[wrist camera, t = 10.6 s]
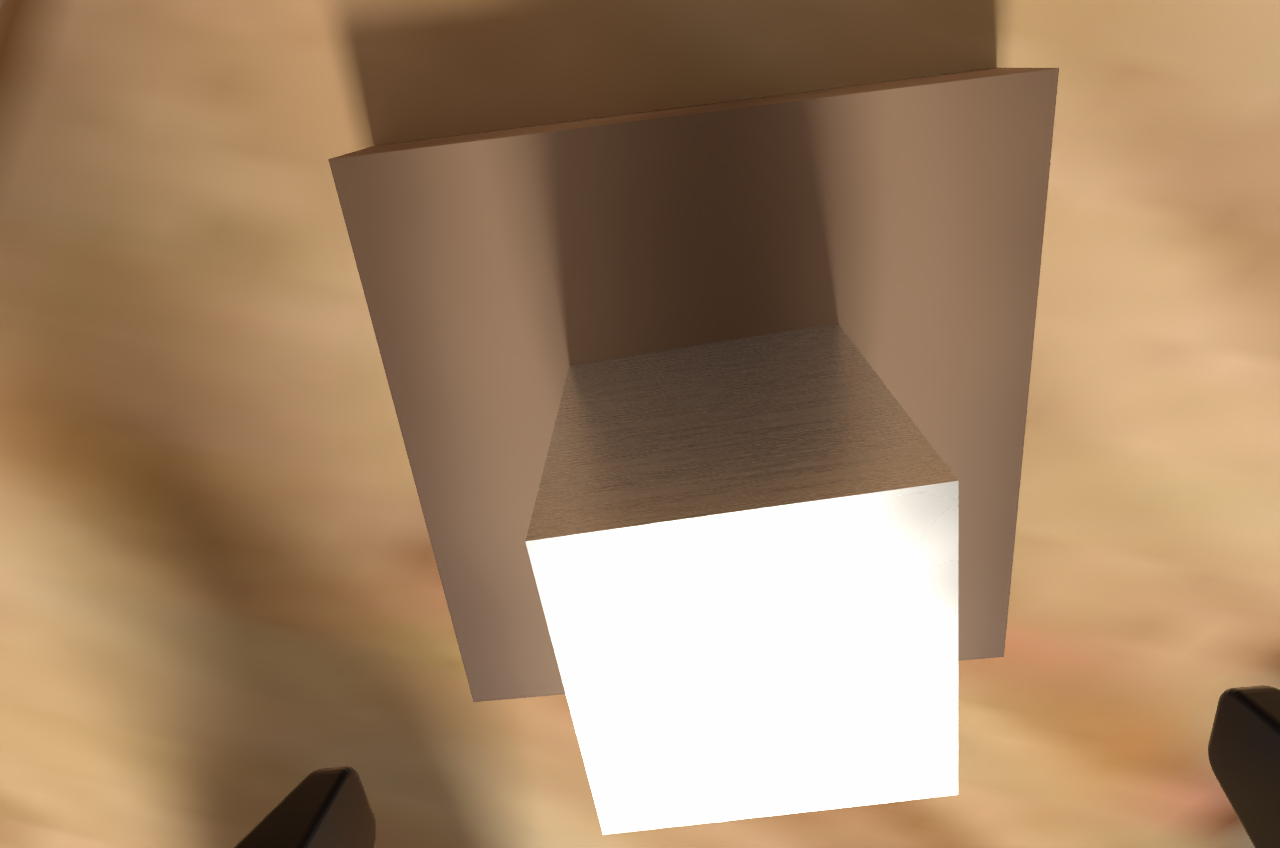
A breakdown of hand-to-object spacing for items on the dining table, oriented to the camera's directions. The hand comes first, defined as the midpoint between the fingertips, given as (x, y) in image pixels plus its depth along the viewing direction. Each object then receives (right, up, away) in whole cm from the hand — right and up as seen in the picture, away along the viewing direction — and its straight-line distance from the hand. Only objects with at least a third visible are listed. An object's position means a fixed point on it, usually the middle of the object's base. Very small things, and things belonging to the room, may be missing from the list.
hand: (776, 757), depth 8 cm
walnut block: (0, +4, +10) cm, 11 cm away
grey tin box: (0, +3, +7) cm, 8 cm away
